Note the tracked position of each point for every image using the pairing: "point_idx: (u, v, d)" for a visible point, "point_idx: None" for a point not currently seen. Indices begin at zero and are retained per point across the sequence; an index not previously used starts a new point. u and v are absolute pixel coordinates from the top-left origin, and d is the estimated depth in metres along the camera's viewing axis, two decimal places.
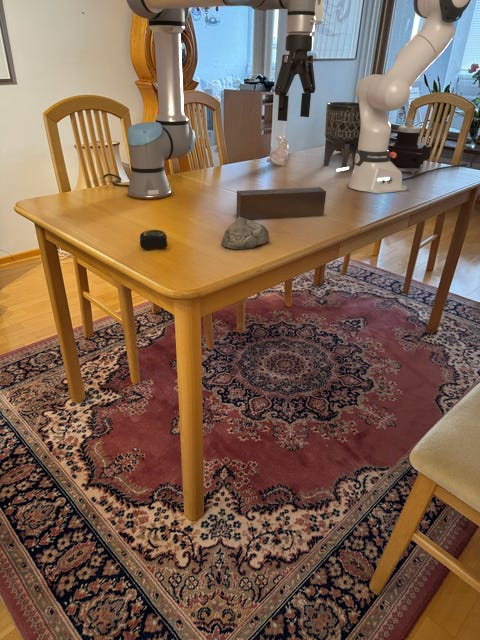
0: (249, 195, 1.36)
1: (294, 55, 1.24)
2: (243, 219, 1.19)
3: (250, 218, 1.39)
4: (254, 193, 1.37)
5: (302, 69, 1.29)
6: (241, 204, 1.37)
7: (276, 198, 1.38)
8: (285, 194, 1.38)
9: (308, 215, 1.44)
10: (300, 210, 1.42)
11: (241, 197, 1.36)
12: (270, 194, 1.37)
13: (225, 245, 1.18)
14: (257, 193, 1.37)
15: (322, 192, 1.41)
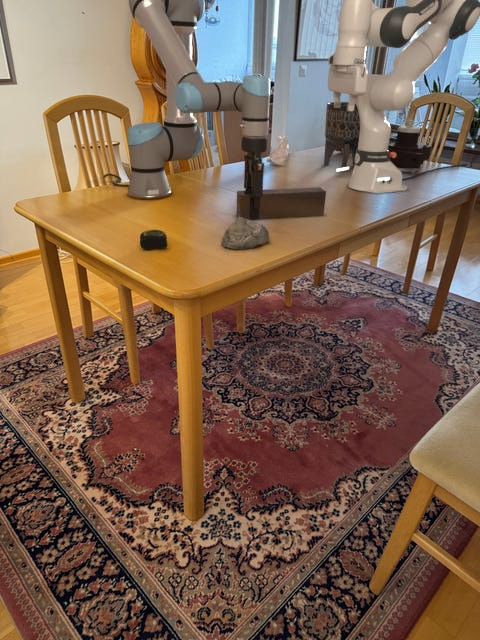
0: (249, 195, 1.36)
1: None
2: (243, 219, 1.19)
3: None
4: None
5: None
6: (241, 204, 1.37)
7: (276, 198, 1.38)
8: (285, 194, 1.38)
9: (308, 215, 1.44)
10: (300, 210, 1.42)
11: (241, 197, 1.36)
12: (270, 194, 1.37)
13: (225, 245, 1.18)
14: None
15: (322, 192, 1.41)
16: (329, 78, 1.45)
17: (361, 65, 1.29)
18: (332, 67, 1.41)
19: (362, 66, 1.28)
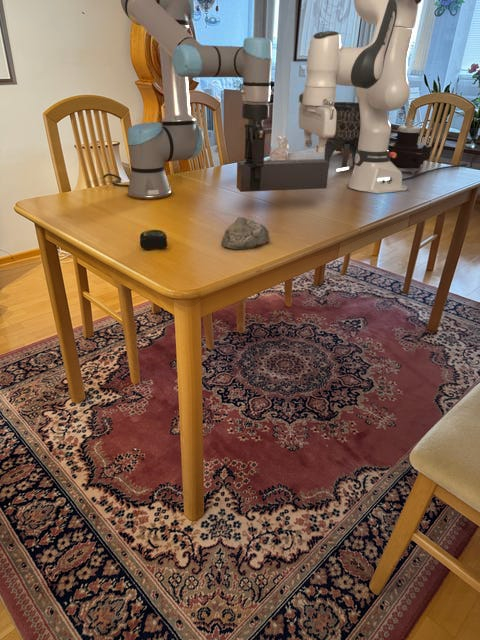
0: (250, 165, 1.31)
1: None
2: (243, 219, 1.19)
3: None
4: None
5: None
6: (241, 174, 1.32)
7: (277, 169, 1.34)
8: (287, 165, 1.34)
9: (311, 187, 1.39)
10: (303, 182, 1.38)
11: (242, 167, 1.31)
12: (271, 164, 1.33)
13: (225, 245, 1.18)
14: None
15: (325, 163, 1.37)
16: (300, 116, 1.39)
17: (329, 107, 1.22)
18: (302, 105, 1.34)
19: (330, 108, 1.22)
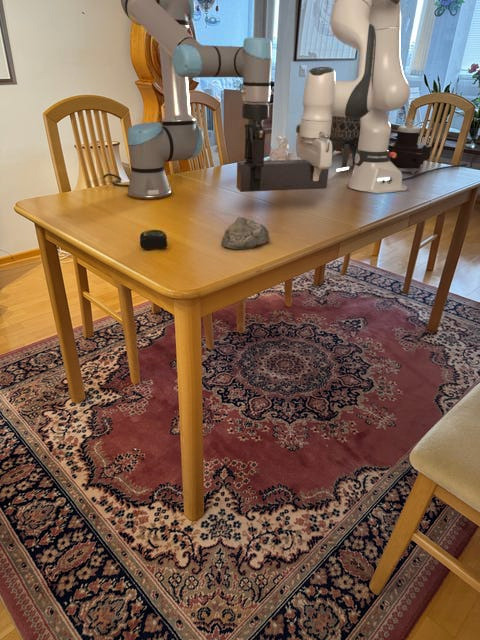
0: (250, 165, 1.31)
1: None
2: (243, 219, 1.19)
3: None
4: None
5: None
6: (241, 174, 1.32)
7: (277, 169, 1.34)
8: (287, 165, 1.34)
9: (311, 187, 1.39)
10: (303, 182, 1.38)
11: (242, 167, 1.31)
12: (271, 164, 1.33)
13: (225, 245, 1.18)
14: None
15: None
16: (297, 145, 1.43)
17: (325, 140, 1.27)
18: (299, 136, 1.39)
19: (326, 142, 1.26)
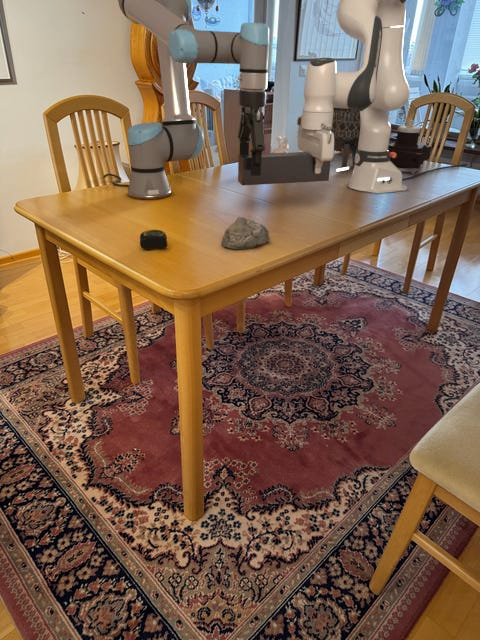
0: None
1: None
2: (243, 219, 1.19)
3: (252, 183, 1.34)
4: None
5: None
6: (243, 168, 1.31)
7: (279, 162, 1.33)
8: (289, 157, 1.33)
9: (313, 180, 1.38)
10: (305, 175, 1.37)
11: (243, 161, 1.30)
12: (273, 157, 1.32)
13: (225, 245, 1.18)
14: None
15: None
16: (298, 138, 1.42)
17: (327, 132, 1.25)
18: (300, 128, 1.38)
19: (328, 133, 1.25)
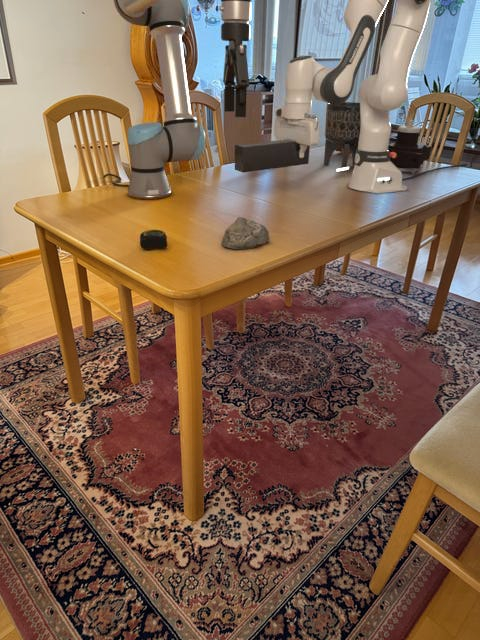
0: (250, 147, 1.44)
1: None
2: (243, 219, 1.19)
3: (251, 170, 1.47)
4: (253, 145, 1.45)
5: None
6: (243, 156, 1.44)
7: (271, 149, 1.48)
8: (279, 144, 1.49)
9: (297, 164, 1.56)
10: (291, 159, 1.54)
11: (244, 149, 1.43)
12: (267, 145, 1.47)
13: (225, 245, 1.18)
14: (255, 145, 1.45)
15: None
16: (276, 127, 1.59)
17: (314, 120, 1.45)
18: (280, 119, 1.55)
19: (315, 121, 1.44)
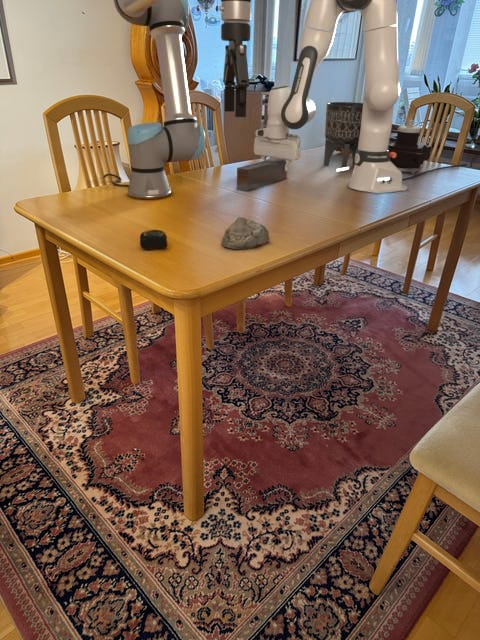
0: (252, 169, 1.67)
1: None
2: (243, 219, 1.19)
3: (252, 188, 1.71)
4: (252, 167, 1.69)
5: None
6: (248, 177, 1.67)
7: (265, 169, 1.74)
8: (269, 165, 1.75)
9: (279, 179, 1.84)
10: (276, 176, 1.82)
11: (248, 172, 1.66)
12: (262, 166, 1.72)
13: (225, 245, 1.18)
14: (254, 167, 1.70)
15: (285, 160, 1.84)
16: (256, 145, 1.83)
17: (296, 139, 1.73)
18: (261, 138, 1.79)
19: (298, 140, 1.73)
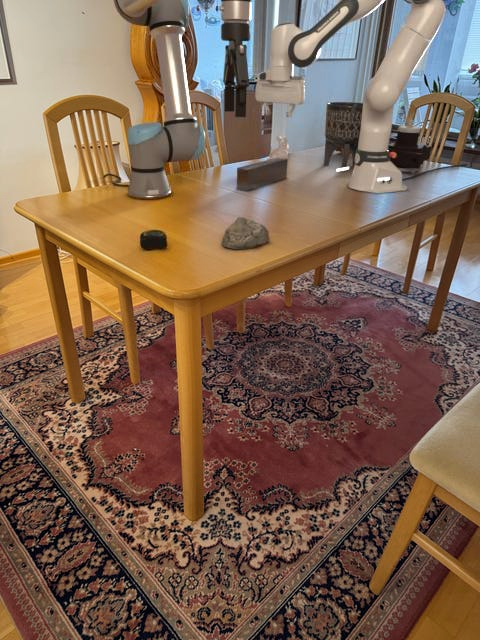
0: (252, 169, 1.67)
1: None
2: (243, 219, 1.19)
3: (252, 188, 1.71)
4: (252, 167, 1.69)
5: None
6: (248, 177, 1.67)
7: (265, 169, 1.74)
8: (269, 165, 1.75)
9: (279, 179, 1.84)
10: (276, 176, 1.82)
11: (248, 172, 1.66)
12: (262, 166, 1.72)
13: (225, 245, 1.18)
14: (254, 167, 1.70)
15: (285, 160, 1.84)
16: (257, 91, 1.73)
17: (301, 81, 1.63)
18: (263, 82, 1.70)
19: (302, 82, 1.63)
